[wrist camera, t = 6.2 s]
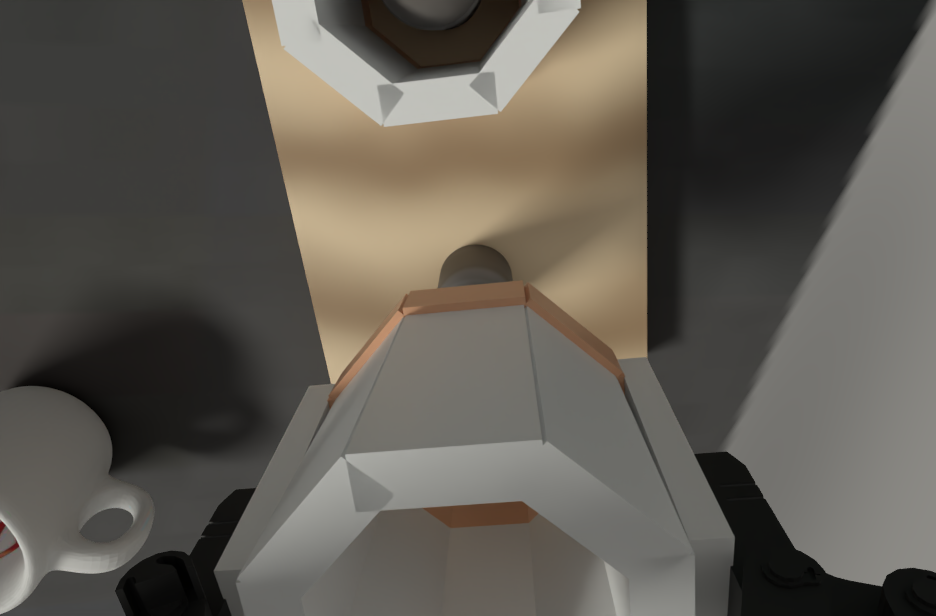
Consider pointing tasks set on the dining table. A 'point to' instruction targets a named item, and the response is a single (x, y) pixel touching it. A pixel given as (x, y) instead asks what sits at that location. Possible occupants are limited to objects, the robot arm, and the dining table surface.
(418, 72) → the sleeve seated
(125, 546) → the cup
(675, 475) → the robot arm
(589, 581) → the sleeve
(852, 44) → the dining table surface
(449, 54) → the pin board
